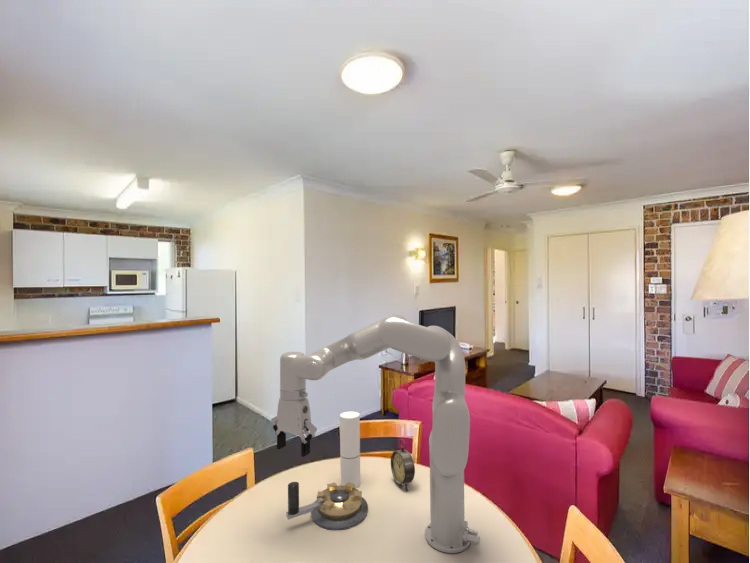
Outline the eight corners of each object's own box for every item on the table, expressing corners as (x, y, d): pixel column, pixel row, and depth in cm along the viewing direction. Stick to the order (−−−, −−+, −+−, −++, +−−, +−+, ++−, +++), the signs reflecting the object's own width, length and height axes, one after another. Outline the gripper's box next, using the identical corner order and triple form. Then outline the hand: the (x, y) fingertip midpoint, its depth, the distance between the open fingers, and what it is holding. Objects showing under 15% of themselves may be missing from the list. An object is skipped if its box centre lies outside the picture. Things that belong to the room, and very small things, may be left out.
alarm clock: (389, 479, 135) (389, 435, 135) (402, 475, 137) (402, 432, 137) (404, 494, 125) (404, 446, 125) (418, 490, 127) (417, 443, 127)
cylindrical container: (361, 479, 135) (360, 411, 135) (358, 489, 128) (358, 418, 128) (342, 478, 136) (342, 411, 136) (338, 488, 128) (338, 418, 129)
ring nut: (349, 489, 125) (349, 457, 125) (369, 510, 113) (369, 475, 113) (280, 511, 113) (280, 475, 114) (294, 538, 101) (293, 498, 101)
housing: (378, 504, 119) (378, 500, 119) (346, 537, 103) (346, 533, 103) (333, 489, 128) (333, 486, 128) (299, 518, 112) (299, 514, 112)
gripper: (323, 394, 108) (323, 452, 108) (281, 387, 117) (281, 440, 116) (306, 401, 101) (307, 463, 101) (263, 393, 110) (263, 449, 110)
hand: (293, 451), depth 109 cm, fingers open, 9 cm apart
